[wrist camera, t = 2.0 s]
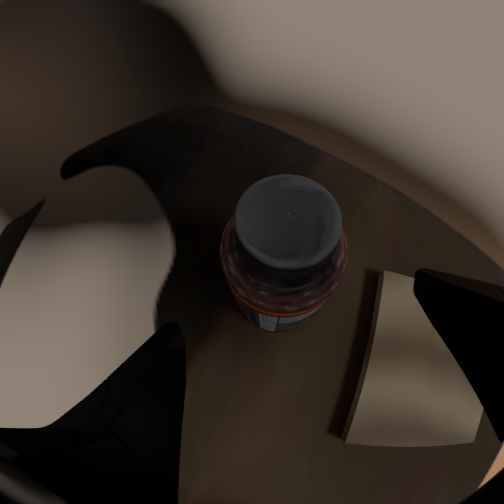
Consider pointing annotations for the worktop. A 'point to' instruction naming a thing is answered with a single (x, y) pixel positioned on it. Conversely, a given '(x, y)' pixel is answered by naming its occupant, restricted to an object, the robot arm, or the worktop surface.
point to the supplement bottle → (283, 251)
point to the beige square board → (409, 379)
